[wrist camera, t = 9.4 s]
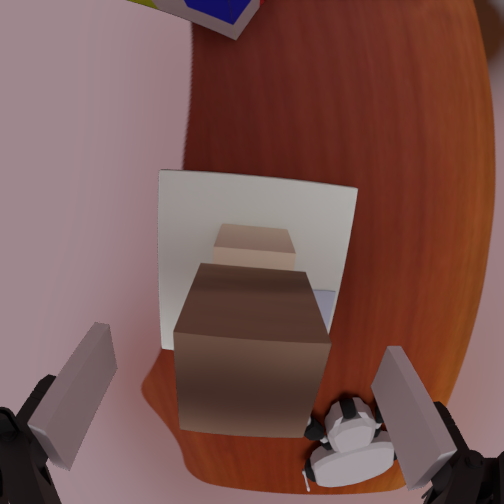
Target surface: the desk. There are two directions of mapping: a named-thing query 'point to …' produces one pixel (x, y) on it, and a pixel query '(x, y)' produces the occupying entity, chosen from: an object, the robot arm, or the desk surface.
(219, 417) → the walnut block
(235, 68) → the desk surface
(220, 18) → the puzzle toy
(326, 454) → the robot toy
